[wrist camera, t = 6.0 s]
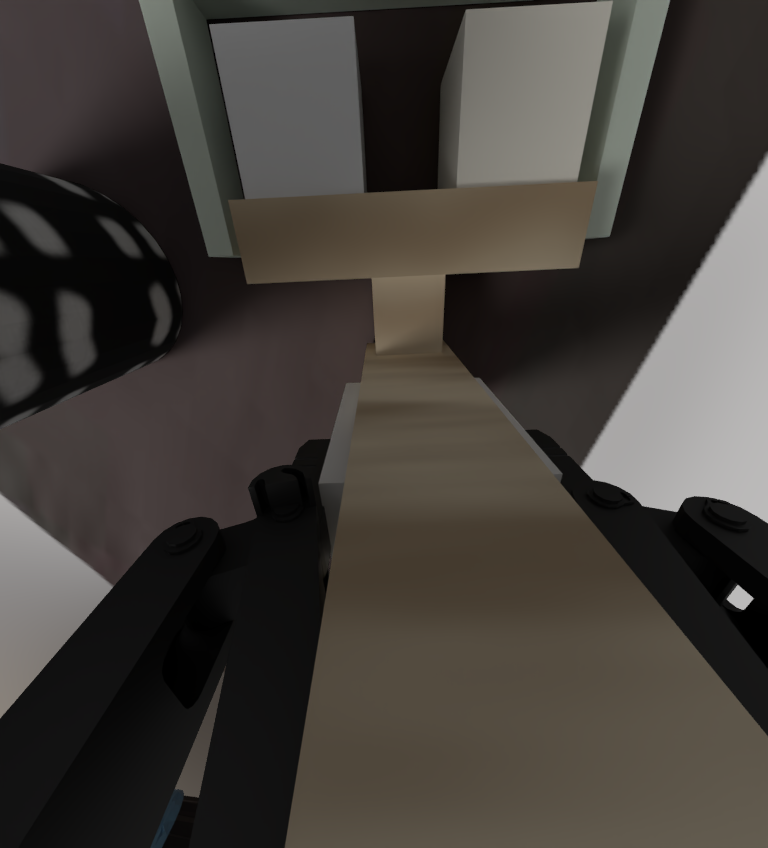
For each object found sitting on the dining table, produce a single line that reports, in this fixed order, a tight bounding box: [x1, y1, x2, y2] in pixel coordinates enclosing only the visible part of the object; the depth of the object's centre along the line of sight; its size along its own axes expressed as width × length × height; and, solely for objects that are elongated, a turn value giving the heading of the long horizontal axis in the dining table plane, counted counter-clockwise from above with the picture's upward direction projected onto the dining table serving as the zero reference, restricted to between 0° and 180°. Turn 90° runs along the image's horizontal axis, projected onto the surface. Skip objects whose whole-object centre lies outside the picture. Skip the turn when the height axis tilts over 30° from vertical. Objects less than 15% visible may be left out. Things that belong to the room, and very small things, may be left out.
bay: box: [139, 0, 670, 258], centre depth 11 cm, size 8×16×2 cm, turn 92°
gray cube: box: [209, 16, 367, 199], centre depth 11 cm, size 4×4×4 cm
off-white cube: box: [438, 1, 613, 189], centre depth 11 cm, size 4×4×4 cm
